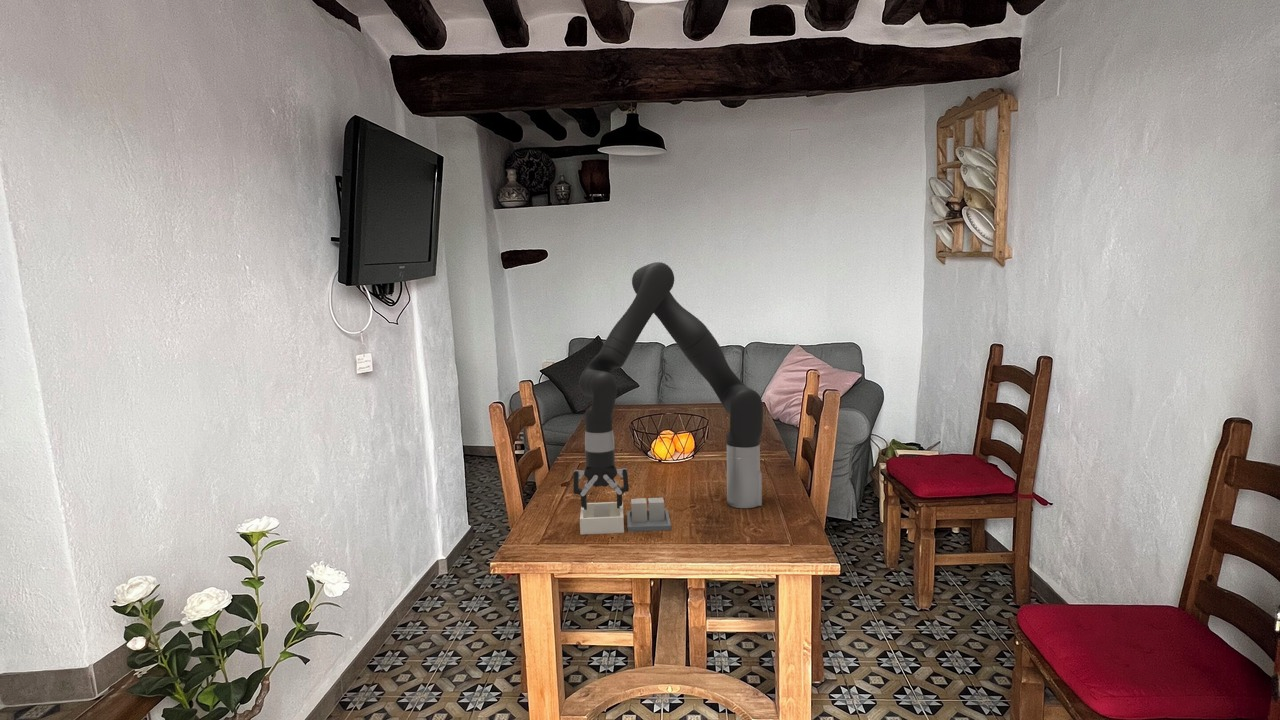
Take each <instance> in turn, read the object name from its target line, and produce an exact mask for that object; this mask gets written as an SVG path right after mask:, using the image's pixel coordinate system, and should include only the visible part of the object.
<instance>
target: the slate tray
mask: <svg viewBox="0 0 1280 720" xmlns="http://www.w3.org/2000/svg"><path fill="white" fill-rule="evenodd" d="M664 515H665V521H649V509H647V521H646V522H632V515H631V510H626V518H627V519H626V521H627V522H626V524H627V532H628V533H630V532H631V533H633V532H635V533H636V532H657V531H658V532H659V531H672V523H671V520H670V515H669V510H668V509H665V508H664Z"/></svg>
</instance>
